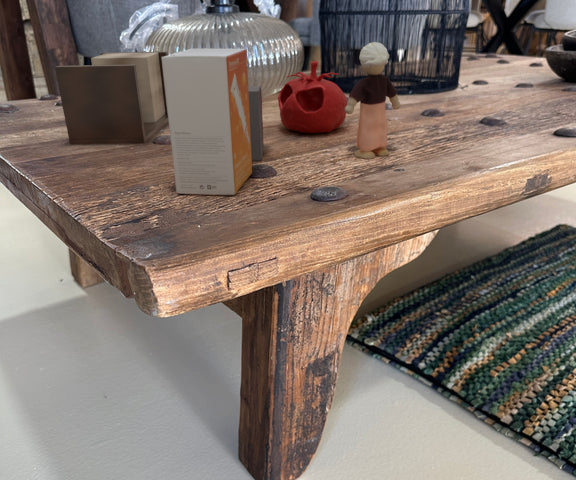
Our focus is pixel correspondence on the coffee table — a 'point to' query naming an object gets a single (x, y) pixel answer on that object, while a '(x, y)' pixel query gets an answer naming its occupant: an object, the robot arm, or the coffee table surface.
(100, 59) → the book rack
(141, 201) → the coffee table surface
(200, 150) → the small box
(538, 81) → the coffee table surface
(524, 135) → the coffee table surface
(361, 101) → the grandmother figurine
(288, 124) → the hollow red tomato
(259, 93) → the matte grey upright block
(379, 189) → the coffee table surface
